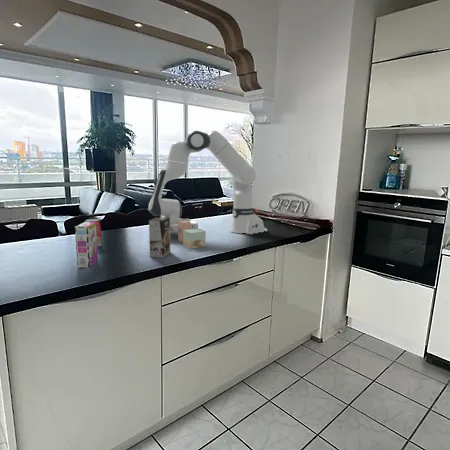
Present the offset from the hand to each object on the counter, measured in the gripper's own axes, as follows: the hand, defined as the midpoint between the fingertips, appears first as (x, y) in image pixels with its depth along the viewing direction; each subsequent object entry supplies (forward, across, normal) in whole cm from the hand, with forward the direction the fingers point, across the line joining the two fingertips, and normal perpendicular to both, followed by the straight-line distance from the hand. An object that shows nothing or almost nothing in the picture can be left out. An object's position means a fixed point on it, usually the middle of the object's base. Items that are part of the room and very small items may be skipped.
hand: (185, 229), depth 173 cm
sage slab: (+11, 0, +2) cm, 11 cm away
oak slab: (+11, 0, +6) cm, 13 cm away
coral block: (-1, 0, +6) cm, 6 cm away
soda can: (-11, -43, +6) cm, 45 cm away
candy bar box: (+18, -50, +6) cm, 54 cm away
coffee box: (+18, -20, +6) cm, 28 cm away
